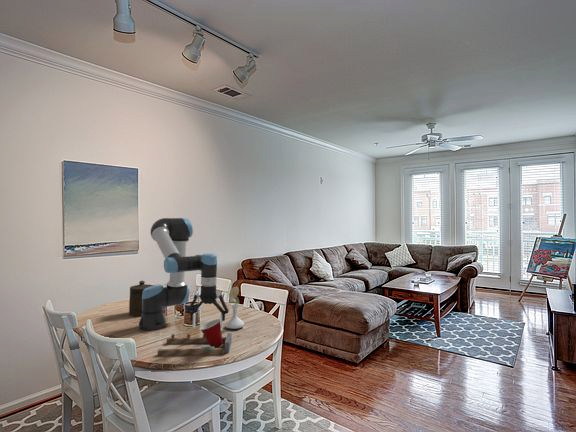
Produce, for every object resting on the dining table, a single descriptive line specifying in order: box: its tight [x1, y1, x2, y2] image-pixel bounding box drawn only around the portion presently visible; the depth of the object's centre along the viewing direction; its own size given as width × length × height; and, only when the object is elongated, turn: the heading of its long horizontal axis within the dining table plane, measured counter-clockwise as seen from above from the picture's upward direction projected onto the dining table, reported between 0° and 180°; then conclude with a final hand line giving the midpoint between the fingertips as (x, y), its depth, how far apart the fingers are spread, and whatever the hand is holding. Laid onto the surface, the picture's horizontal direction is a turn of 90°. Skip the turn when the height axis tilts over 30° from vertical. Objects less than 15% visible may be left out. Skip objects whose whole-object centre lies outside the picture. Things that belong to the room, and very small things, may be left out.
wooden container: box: [128, 280, 154, 318], centre depth 220 cm, size 15×15×22 cm
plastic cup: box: [199, 318, 224, 348], centre depth 164 cm, size 11×11×12 cm
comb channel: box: [157, 333, 227, 357], centre depth 163 cm, size 31×16×4 cm, turn 95°
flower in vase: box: [224, 285, 245, 330], centre depth 194 cm, size 13×11×25 cm
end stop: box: [224, 332, 232, 354], centre depth 164 cm, size 2×13×5 cm, turn 5°
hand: (207, 327), depth 164 cm, fingers open, 13 cm apart
